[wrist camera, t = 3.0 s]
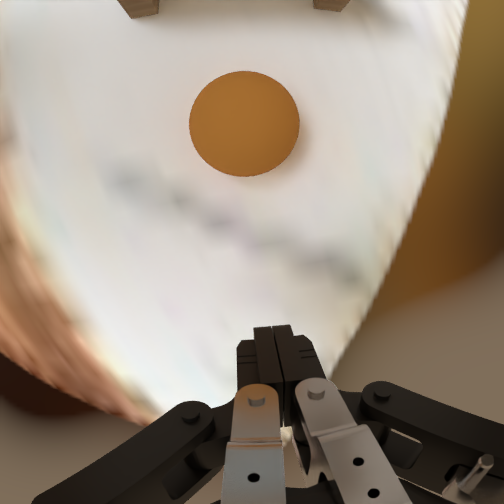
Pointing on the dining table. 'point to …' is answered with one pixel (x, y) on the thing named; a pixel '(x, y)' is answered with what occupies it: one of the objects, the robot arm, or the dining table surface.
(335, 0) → the tan arch
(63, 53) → the dining table surface
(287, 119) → the ball
